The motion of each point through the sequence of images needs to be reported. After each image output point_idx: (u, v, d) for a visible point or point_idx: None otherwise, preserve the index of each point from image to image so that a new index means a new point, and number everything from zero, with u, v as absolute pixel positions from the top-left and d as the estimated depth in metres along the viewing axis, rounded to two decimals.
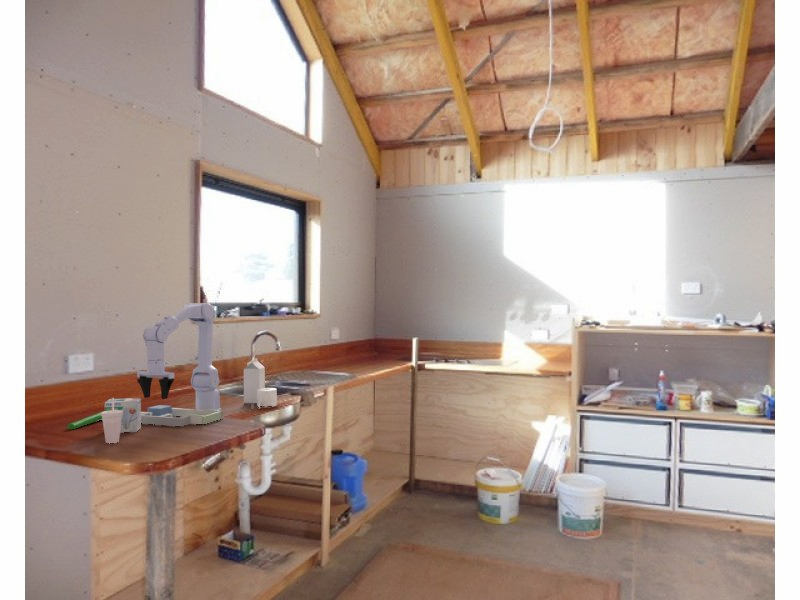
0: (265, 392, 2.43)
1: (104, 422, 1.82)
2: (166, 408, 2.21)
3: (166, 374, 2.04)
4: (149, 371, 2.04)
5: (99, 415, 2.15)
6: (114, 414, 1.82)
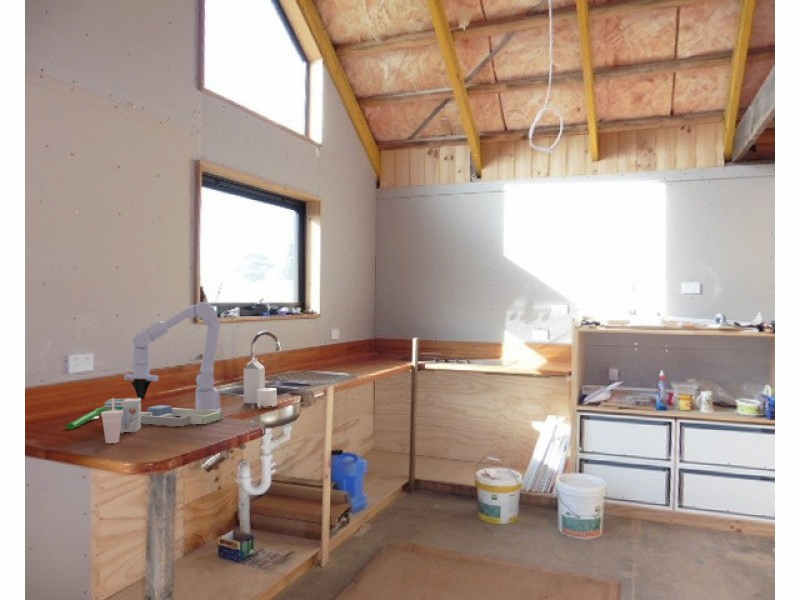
0: (265, 392, 2.43)
1: (104, 422, 1.82)
2: (166, 408, 2.21)
3: (151, 377, 2.21)
4: (135, 374, 2.21)
5: (91, 415, 2.16)
6: (114, 414, 1.82)
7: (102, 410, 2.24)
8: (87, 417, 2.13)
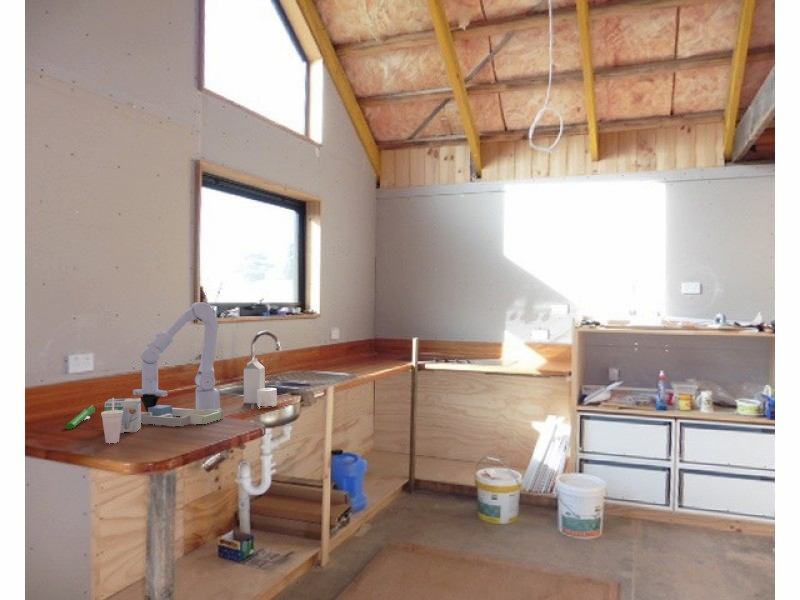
0: (265, 392, 2.43)
1: (104, 422, 1.82)
2: (166, 408, 2.21)
3: (160, 392, 2.20)
4: (144, 389, 2.20)
5: (84, 415, 2.16)
6: (114, 414, 1.82)
7: (91, 410, 2.24)
8: (81, 417, 2.13)
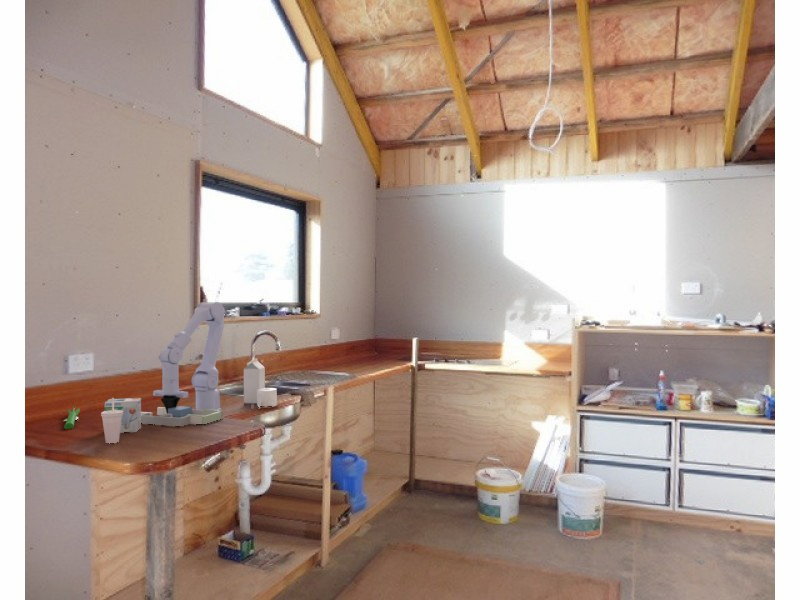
0: (265, 392, 2.43)
1: (104, 422, 1.82)
2: (186, 409, 2.17)
3: (180, 393, 2.17)
4: (164, 390, 2.17)
5: (75, 415, 2.15)
6: (114, 414, 1.82)
7: (77, 411, 2.23)
8: (74, 417, 2.13)
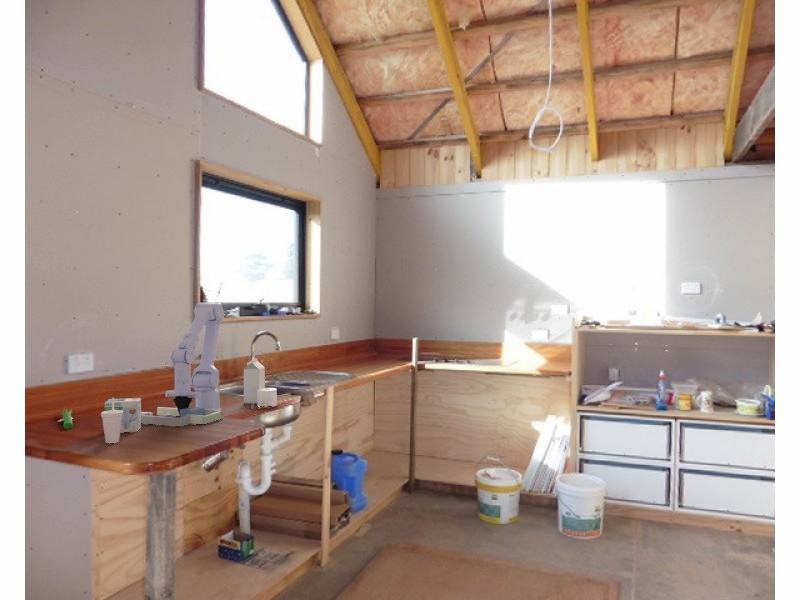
0: (265, 392, 2.43)
1: (104, 422, 1.82)
2: (198, 410, 2.15)
3: (193, 394, 2.15)
4: (177, 391, 2.16)
5: (70, 415, 2.15)
6: (114, 414, 1.82)
7: (70, 411, 2.22)
8: (70, 417, 2.12)
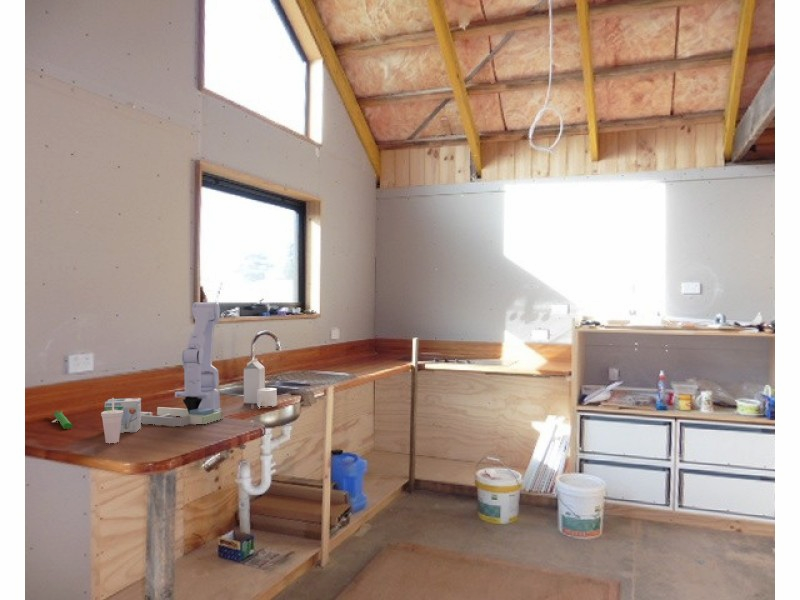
0: (265, 392, 2.43)
1: (104, 422, 1.82)
2: (208, 411, 2.13)
3: (203, 395, 2.14)
4: (187, 392, 2.14)
5: (64, 416, 2.14)
6: (114, 414, 1.82)
7: None
8: (66, 418, 2.12)
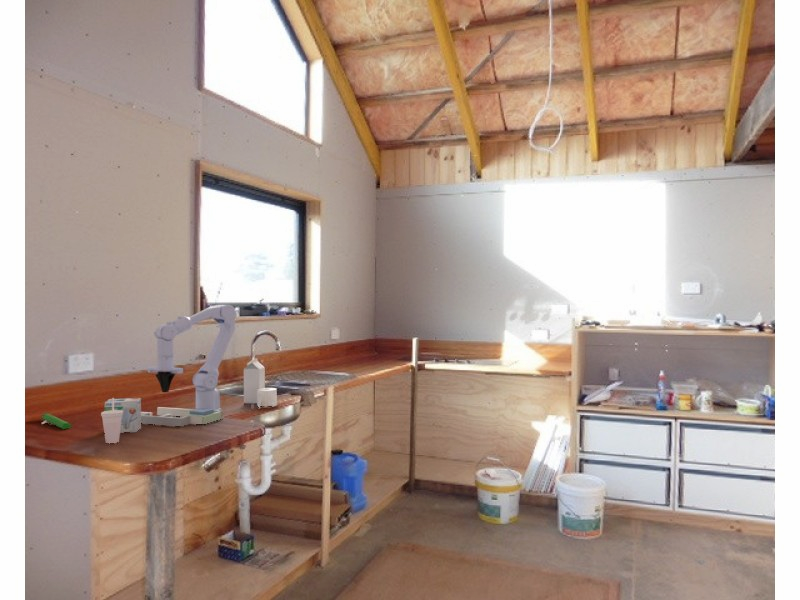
0: (265, 392, 2.43)
1: (104, 422, 1.82)
2: (208, 412, 2.13)
3: (175, 369, 2.19)
4: (159, 366, 2.19)
5: (54, 417, 2.12)
6: (114, 414, 1.82)
7: None
8: None
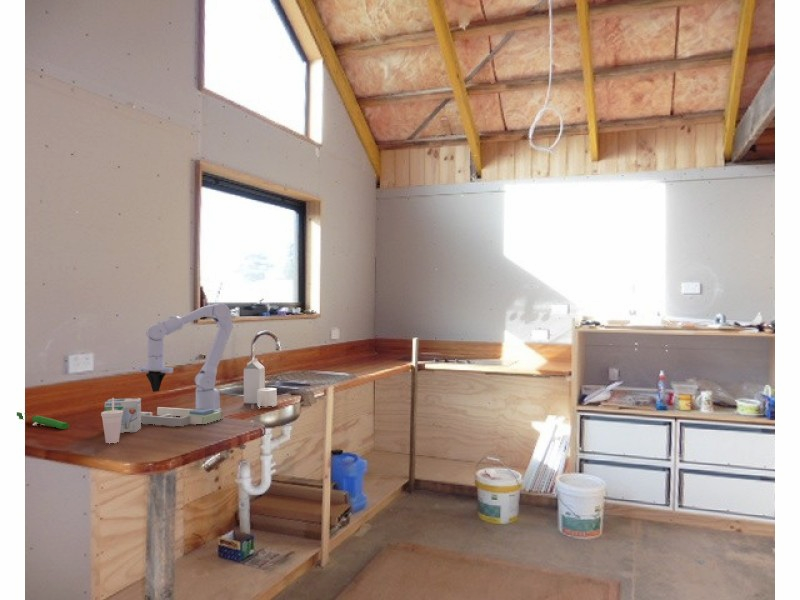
0: (265, 392, 2.43)
1: (104, 422, 1.82)
2: (208, 412, 2.13)
3: (165, 369, 2.21)
4: (150, 366, 2.21)
5: None
6: (114, 414, 1.82)
7: None
8: None
